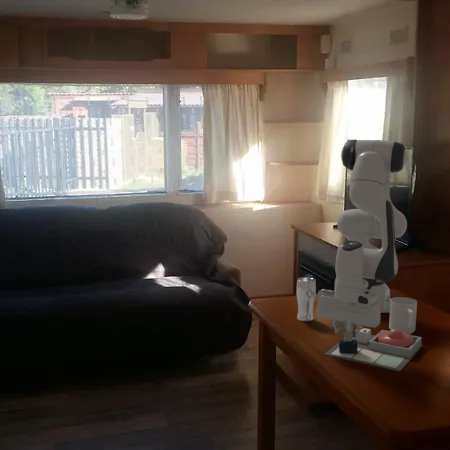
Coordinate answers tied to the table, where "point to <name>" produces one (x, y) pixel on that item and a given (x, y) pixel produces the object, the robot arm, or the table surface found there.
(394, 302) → the mug
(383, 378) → the table surface
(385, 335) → the dome
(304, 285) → the beer glass
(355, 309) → the robot arm
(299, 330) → the table surface
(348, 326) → the watch
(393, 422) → the table surface
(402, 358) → the game board
